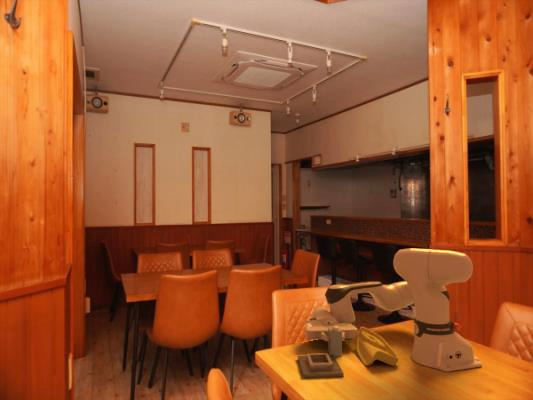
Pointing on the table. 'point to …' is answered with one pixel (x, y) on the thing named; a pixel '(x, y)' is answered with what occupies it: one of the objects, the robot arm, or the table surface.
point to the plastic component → (374, 348)
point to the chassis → (319, 366)
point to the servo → (335, 341)
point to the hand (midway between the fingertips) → (335, 339)
